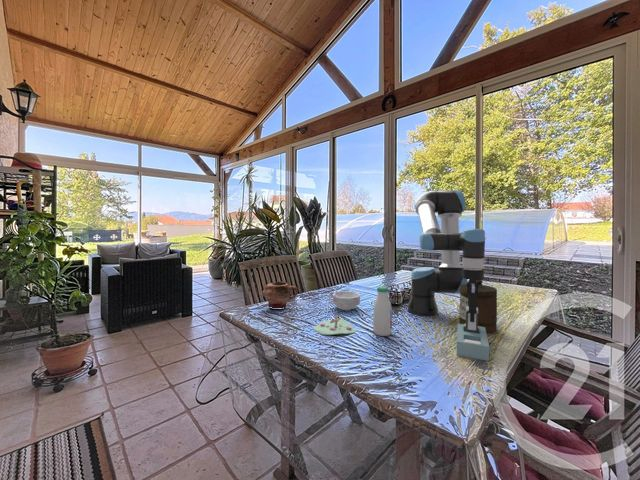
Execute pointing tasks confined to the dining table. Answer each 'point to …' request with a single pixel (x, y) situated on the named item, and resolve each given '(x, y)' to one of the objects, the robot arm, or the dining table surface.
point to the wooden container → (481, 306)
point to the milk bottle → (382, 313)
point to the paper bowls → (346, 300)
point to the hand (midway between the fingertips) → (471, 326)
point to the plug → (467, 321)
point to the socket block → (472, 343)
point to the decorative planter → (278, 294)
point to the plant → (334, 327)
